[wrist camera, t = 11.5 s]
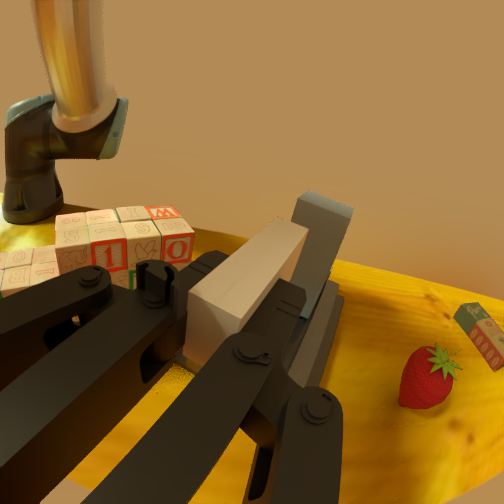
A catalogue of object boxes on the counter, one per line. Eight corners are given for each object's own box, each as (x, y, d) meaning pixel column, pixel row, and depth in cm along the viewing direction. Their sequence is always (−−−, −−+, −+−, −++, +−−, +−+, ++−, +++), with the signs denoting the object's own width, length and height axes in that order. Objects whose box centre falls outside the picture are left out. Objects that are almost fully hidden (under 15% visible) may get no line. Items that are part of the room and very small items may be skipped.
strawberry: (416, 382, 27) (462, 327, 22) (422, 430, 21) (482, 377, 16) (380, 375, 28) (425, 315, 23) (382, 426, 21) (443, 370, 16)
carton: (492, 373, 29) (506, 357, 27) (451, 317, 43) (461, 301, 41) (505, 364, 31) (518, 349, 29) (468, 315, 45) (478, 300, 43)
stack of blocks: (8, 364, 17) (-40, 263, 11) (9, 321, 21) (-22, 226, 15) (186, 328, 29) (197, 229, 23) (166, 293, 33) (172, 202, 27)
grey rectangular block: (265, 299, 35) (297, 198, 28) (278, 281, 39) (308, 190, 32) (307, 318, 33) (350, 219, 27) (316, 298, 38) (353, 208, 31)
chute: (172, 361, 25) (173, 331, 22) (261, 265, 44) (269, 240, 42) (301, 427, 21) (321, 405, 19) (342, 300, 40) (354, 276, 38)
